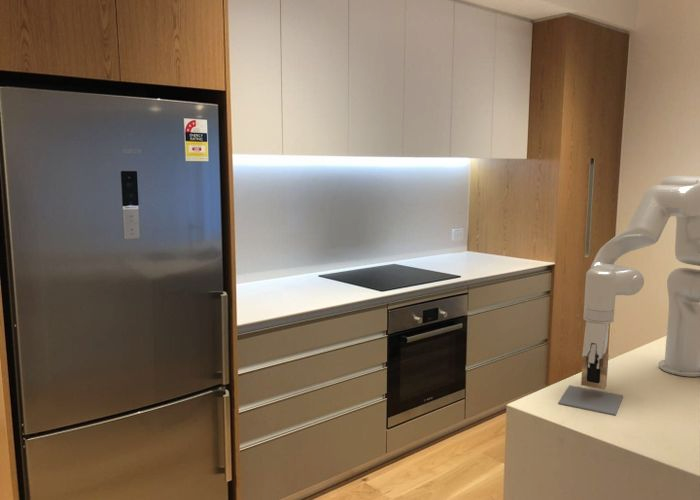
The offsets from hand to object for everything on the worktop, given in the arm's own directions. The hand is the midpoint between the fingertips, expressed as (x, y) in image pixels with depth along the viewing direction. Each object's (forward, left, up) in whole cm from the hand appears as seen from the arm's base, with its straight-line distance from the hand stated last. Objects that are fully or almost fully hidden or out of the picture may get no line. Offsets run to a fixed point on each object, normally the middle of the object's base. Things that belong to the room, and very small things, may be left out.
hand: (594, 379), depth 160 cm
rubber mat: (+4, 0, -5) cm, 6 cm away
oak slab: (0, 0, -2) cm, 2 cm away
